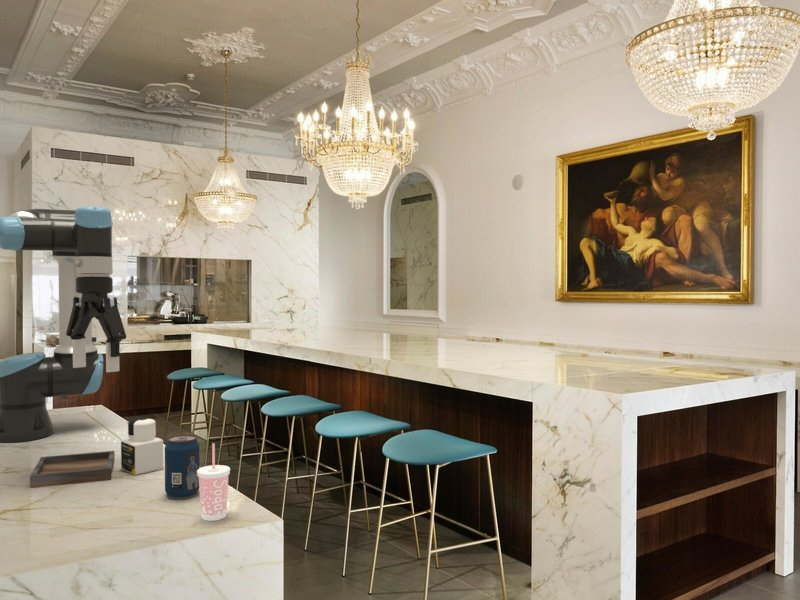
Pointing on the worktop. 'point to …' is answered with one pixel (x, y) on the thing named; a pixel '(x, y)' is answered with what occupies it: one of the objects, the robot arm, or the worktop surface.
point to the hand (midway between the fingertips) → (95, 369)
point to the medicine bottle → (141, 447)
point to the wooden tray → (73, 469)
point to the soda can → (182, 466)
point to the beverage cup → (213, 489)
